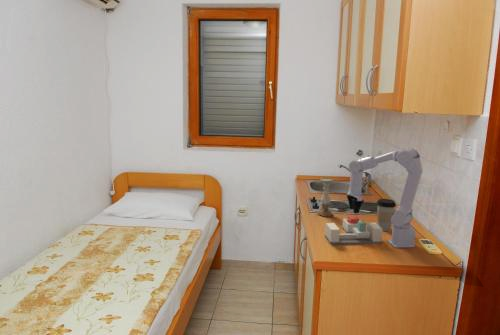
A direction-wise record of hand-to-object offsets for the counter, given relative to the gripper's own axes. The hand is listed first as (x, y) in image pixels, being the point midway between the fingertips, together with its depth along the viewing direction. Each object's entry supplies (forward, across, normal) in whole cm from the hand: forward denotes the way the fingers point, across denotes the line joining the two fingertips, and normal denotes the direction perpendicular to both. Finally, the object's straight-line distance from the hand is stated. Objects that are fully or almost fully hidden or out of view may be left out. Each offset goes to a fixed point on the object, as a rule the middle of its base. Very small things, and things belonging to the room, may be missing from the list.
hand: (354, 211), depth 196 cm
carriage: (+9, +12, 0) cm, 15 cm away
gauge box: (+10, 0, 0) cm, 10 cm away
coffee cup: (+11, -2, +17) cm, 20 cm away
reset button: (+7, 0, 0) cm, 7 cm away
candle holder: (+11, -27, -7) cm, 30 cm away
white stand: (+10, +12, -4) cm, 16 cm away
